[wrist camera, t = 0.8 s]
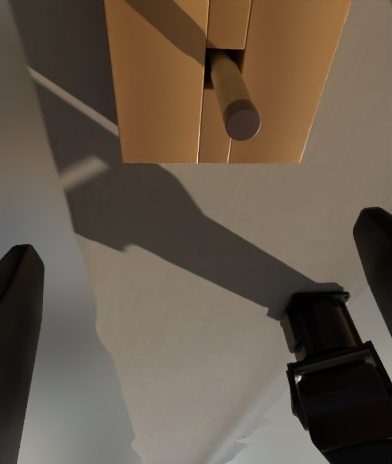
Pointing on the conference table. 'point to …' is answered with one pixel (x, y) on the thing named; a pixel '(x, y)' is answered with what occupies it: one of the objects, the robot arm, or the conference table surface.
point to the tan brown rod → (233, 97)
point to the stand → (199, 75)
